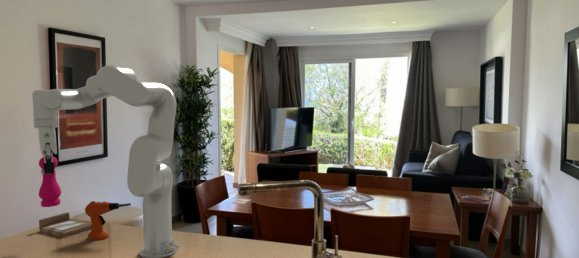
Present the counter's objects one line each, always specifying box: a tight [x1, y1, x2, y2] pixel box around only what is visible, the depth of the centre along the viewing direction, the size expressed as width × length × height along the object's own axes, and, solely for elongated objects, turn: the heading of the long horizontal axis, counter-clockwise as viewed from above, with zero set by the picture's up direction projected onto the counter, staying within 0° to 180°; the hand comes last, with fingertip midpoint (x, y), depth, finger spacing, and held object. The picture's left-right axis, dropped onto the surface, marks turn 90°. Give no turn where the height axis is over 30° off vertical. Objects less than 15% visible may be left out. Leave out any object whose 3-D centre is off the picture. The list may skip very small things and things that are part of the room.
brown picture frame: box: [38, 212, 92, 239], centre depth 166 cm, size 16×12×5 cm
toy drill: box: [84, 200, 132, 241], centre depth 156 cm, size 5×19×15 cm, turn 87°
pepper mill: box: [38, 153, 62, 208], centre depth 149 cm, size 7×7×20 cm
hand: (48, 171), depth 149 cm, fingers closed on pepper mill, 5 cm apart
